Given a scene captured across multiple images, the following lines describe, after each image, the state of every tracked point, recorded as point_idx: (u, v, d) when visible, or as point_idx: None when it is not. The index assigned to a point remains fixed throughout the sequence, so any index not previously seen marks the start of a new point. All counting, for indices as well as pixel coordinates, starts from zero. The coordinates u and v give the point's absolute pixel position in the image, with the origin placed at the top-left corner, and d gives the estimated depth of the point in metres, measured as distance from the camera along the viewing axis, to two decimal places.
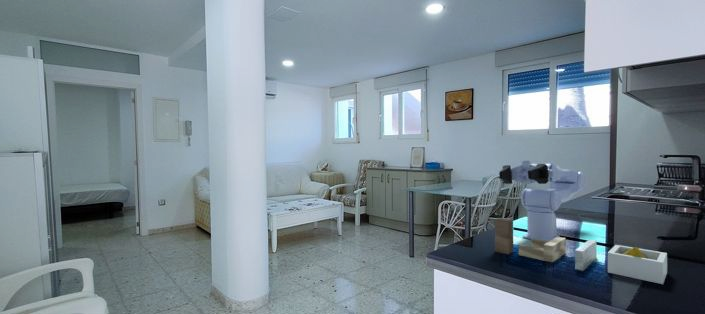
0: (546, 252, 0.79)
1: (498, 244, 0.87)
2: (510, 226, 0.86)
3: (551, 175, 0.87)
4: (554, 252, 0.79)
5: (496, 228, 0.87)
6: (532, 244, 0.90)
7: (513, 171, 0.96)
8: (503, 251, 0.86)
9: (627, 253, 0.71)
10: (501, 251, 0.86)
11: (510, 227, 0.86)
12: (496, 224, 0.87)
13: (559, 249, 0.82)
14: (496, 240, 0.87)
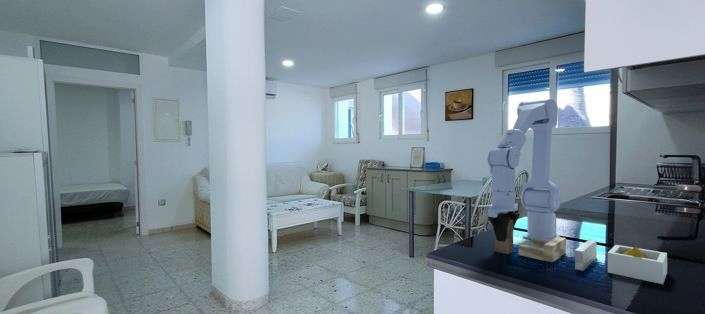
0: (546, 252, 0.79)
1: (497, 244, 0.87)
2: (510, 226, 0.86)
3: (494, 217, 0.83)
4: (554, 252, 0.79)
5: None
6: (532, 244, 0.90)
7: None
8: (503, 251, 0.86)
9: (627, 253, 0.71)
10: (501, 251, 0.86)
11: (510, 227, 0.86)
12: None
13: (559, 249, 0.82)
14: (496, 240, 0.87)
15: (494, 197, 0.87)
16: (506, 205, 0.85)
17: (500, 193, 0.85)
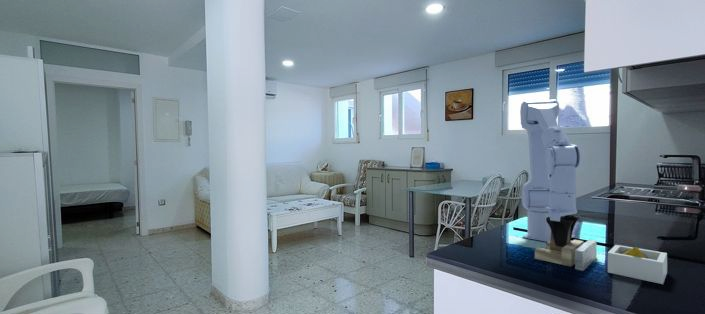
0: (564, 256, 0.76)
1: (553, 249, 0.81)
2: None
3: (557, 220, 0.76)
4: (573, 256, 0.76)
5: None
6: (548, 247, 0.86)
7: None
8: None
9: (627, 253, 0.71)
10: None
11: None
12: None
13: None
14: (551, 245, 0.81)
15: (553, 199, 0.80)
16: (567, 208, 0.78)
17: (561, 195, 0.79)
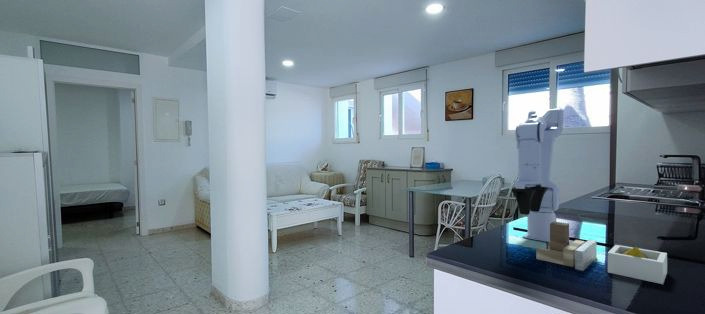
0: (566, 256, 0.76)
1: None
2: (567, 231, 0.80)
3: (522, 188, 0.84)
4: None
5: (551, 233, 0.81)
6: (549, 247, 0.86)
7: None
8: None
9: (627, 253, 0.71)
10: None
11: (567, 232, 0.80)
12: (551, 228, 0.81)
13: None
14: (551, 246, 0.81)
15: (520, 171, 0.89)
16: (532, 178, 0.87)
17: (527, 166, 0.87)
